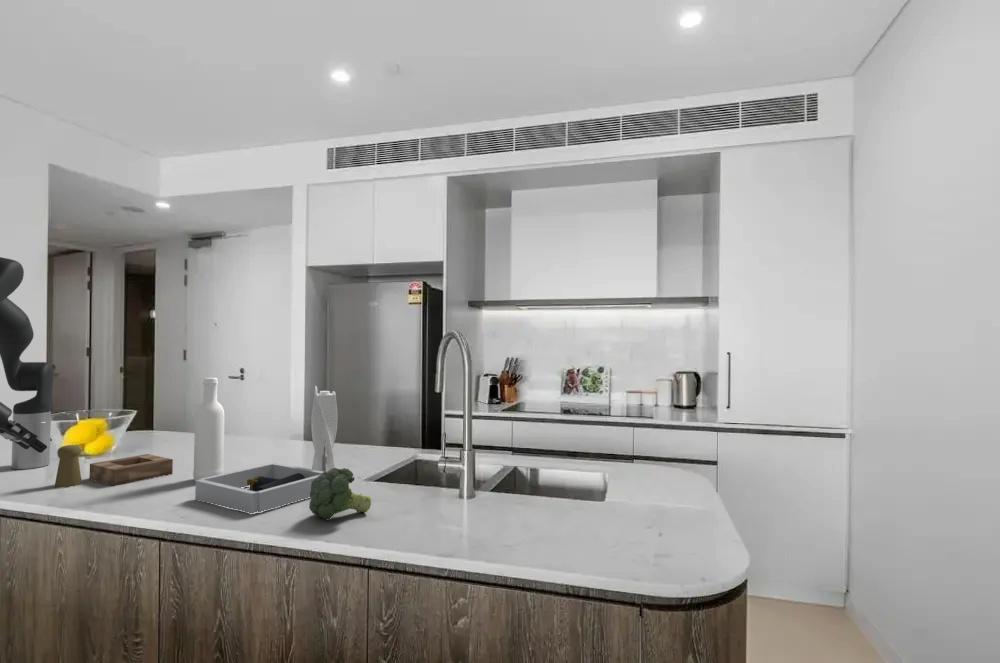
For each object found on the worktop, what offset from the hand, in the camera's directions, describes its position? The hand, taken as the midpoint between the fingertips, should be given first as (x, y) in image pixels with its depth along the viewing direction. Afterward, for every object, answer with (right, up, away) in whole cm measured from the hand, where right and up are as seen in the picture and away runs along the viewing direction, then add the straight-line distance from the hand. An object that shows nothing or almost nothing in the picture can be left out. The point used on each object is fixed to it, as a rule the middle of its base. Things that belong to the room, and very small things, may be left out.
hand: (36, 448), depth 145 cm
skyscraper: (+72, -13, +15) cm, 75 cm away
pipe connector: (+64, -13, -2) cm, 65 cm away
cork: (+4, -12, +6) cm, 14 cm away
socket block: (+15, -12, +16) cm, 25 cm away
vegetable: (+87, -13, -17) cm, 89 cm away
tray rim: (+62, -12, -2) cm, 64 cm away
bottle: (+39, -12, +14) cm, 43 cm away
